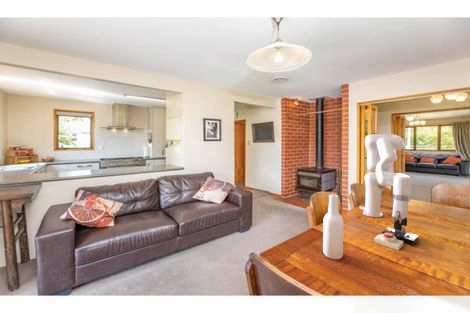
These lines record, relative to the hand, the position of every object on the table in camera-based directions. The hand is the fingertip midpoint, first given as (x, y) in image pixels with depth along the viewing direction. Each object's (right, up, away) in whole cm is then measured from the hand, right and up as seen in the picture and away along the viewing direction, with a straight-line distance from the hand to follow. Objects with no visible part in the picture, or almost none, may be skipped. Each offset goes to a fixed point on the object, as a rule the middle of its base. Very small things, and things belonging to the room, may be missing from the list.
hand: (400, 227), depth 114 cm
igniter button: (-10, -4, -5) cm, 12 cm away
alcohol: (-45, -9, -14) cm, 48 cm away
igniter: (-10, -7, -4) cm, 13 cm away
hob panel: (0, -7, +1) cm, 7 cm away
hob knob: (0, -3, +1) cm, 4 cm away
